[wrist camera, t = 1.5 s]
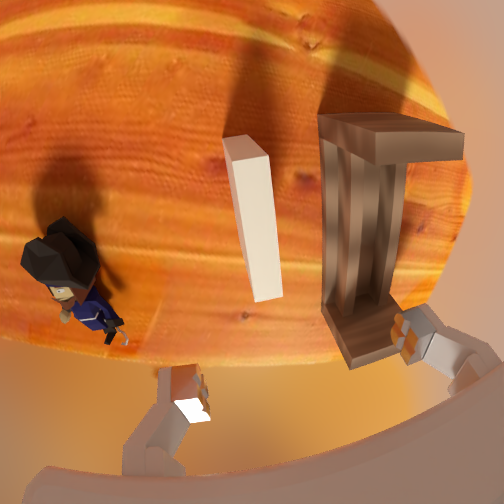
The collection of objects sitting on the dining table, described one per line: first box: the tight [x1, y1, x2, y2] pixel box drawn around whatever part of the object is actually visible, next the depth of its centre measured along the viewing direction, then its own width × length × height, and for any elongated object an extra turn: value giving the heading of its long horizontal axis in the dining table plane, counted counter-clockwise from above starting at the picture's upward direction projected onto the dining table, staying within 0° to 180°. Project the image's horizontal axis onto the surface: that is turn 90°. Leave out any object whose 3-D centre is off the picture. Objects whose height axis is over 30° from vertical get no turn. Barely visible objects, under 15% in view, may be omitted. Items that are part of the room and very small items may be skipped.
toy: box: [20, 216, 128, 345], centre depth 24 cm, size 9×6×15 cm
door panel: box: [222, 134, 283, 302], centre depth 21 cm, size 10×2×8 cm, turn 7°
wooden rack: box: [317, 112, 464, 370], centre depth 24 cm, size 22×8×9 cm, turn 7°
